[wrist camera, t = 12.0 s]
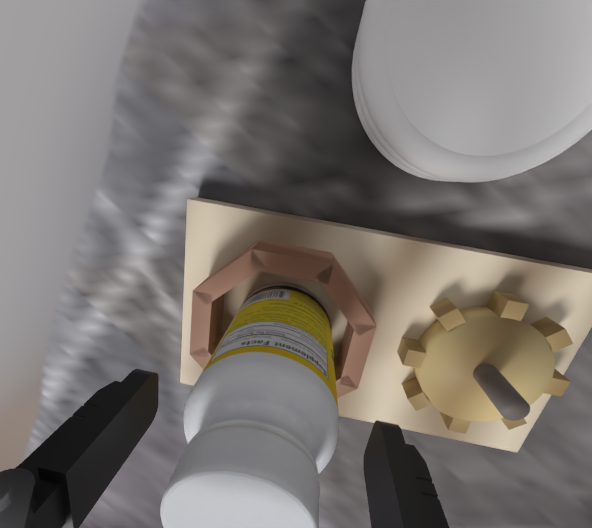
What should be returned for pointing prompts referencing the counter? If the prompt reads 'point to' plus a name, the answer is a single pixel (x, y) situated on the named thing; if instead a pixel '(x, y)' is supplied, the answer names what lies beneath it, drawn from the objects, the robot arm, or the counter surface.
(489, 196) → the counter surface
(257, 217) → the gear board
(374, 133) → the coaster
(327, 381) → the supplement bottle
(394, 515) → the robot arm
